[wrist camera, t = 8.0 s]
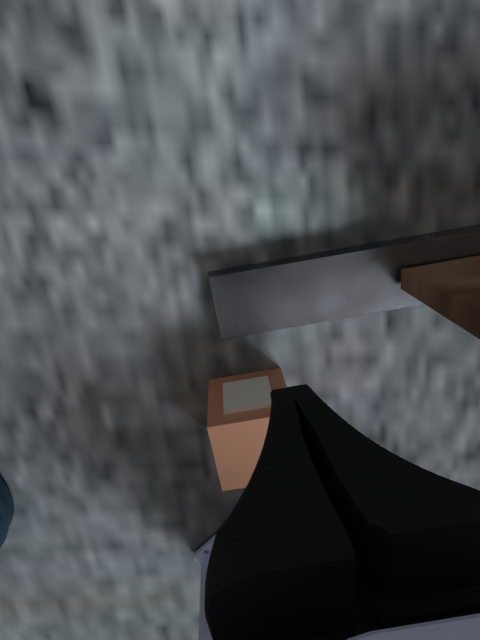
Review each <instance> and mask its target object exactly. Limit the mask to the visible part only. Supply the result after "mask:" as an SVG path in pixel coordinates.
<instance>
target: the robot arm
mask: <svg viewBox="0 0 480 640" xmlns="http://www.w3.org/2000/svg"><path fill="white" fill-rule="evenodd" d="M270 396H271V412H270V418H269V424H268V429H267V433H266V437H265V441H264V444H263V448H262V451H261V454H260V457H259V459H258V462H257V464H256V467H255V469H254V471H253V474H252V476H251V478H250V480H249V482H248V484H247V486H246V488H245V490H244V492H243V494H242V495H241V497H240V499H239V501H238V502H237V504H236V506H235V508H234V509H233V511H232V512H231V514H230V515H229V517H228V518H227V520H226V521H225V522H224V524H223V525H222V527H221V528H220V530H219V531H218V532H217V533H216V534H215V535H214V536H213V537H212V538H211V539H209V540H208V541H207V542H206V543H205V544H204V545H203V546H201V547H200V548H199V549H198V550H197V551H196V552H195V553H194V560H195V561H196V562H198V563H200V564H201V585H200V611H199V637H198V640H480V491H479V490H477V489H474V488H471V487H468V486H466V485H463V484H460V483H458V482H455V481H452V480H449V479H447V478H444V477H441V476H439V475H437V474H434V473H432V472H430V471H428V470H425V469H423V468H421V467H419V466H417V465H415V464H412V463H410V462H408V461H406V460H405V459H403V458H401V457H399V456H397V455H395V454H393V453H391V452H390V451H388V450H386V449H384V448H383V447H381V446H379V445H378V444H376V443H375V442H373V441H372V440H370V439H369V438H367V437H366V436H364V435H363V434H362V433H360V432H359V431H357V430H356V429H355V428H354V427H352V426H351V425H350V424H348V423H347V422H346V421H345V420H344V419H342V418H341V417H340V416H339V415H338V414H337V413H335V412H334V411H333V410H332V409H331V408H330V407H329V406H328V405H327V404H326V403H324V402H323V401H322V400H321V399H320V398H319V397H318V396H317V395H316V394H315V392H314V391H313V390H312V389H311V388H310V387H309V386H308V385H306V384H304V385H298V386H292V387H286V388H280V389H274V390H272V391H271V392H270Z"/></svg>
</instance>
